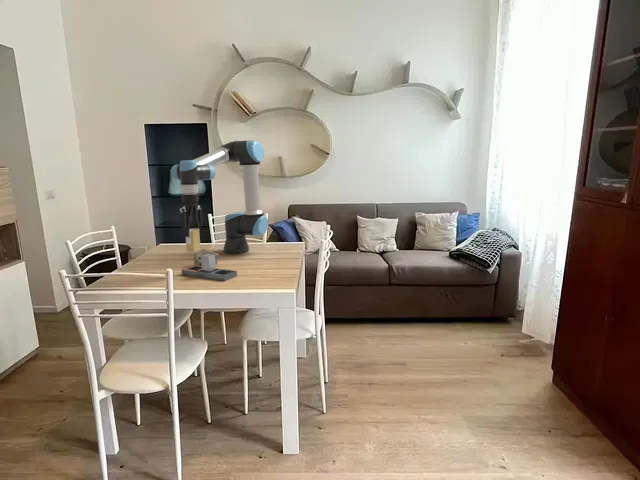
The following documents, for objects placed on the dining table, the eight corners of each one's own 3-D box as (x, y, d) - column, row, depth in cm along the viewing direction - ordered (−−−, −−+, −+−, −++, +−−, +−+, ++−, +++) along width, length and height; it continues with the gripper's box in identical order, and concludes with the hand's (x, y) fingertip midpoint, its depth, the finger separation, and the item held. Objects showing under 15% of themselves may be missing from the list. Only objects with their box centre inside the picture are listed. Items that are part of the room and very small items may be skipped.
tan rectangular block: (193, 248, 205) (192, 228, 203) (200, 249, 203) (199, 229, 201) (186, 250, 201) (185, 229, 199) (193, 251, 199) (192, 230, 197)
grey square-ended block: (208, 273, 204) (207, 253, 202) (216, 274, 202) (214, 254, 200) (202, 276, 200) (201, 255, 198) (209, 277, 198) (208, 256, 196)
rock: (190, 265, 215) (195, 247, 215) (192, 264, 221) (198, 246, 221) (213, 272, 216) (218, 253, 216) (215, 271, 223) (220, 252, 222)
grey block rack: (195, 270, 210) (194, 265, 210) (237, 276, 199) (236, 270, 199) (181, 274, 202) (181, 269, 202) (225, 281, 191) (224, 275, 191)
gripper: (196, 192, 207) (199, 239, 211) (169, 194, 191) (173, 245, 195) (208, 192, 203) (211, 240, 207) (182, 195, 188) (185, 246, 192)
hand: (193, 242), depth 201 cm, fingers closed on tan rectangular block, 4 cm apart
